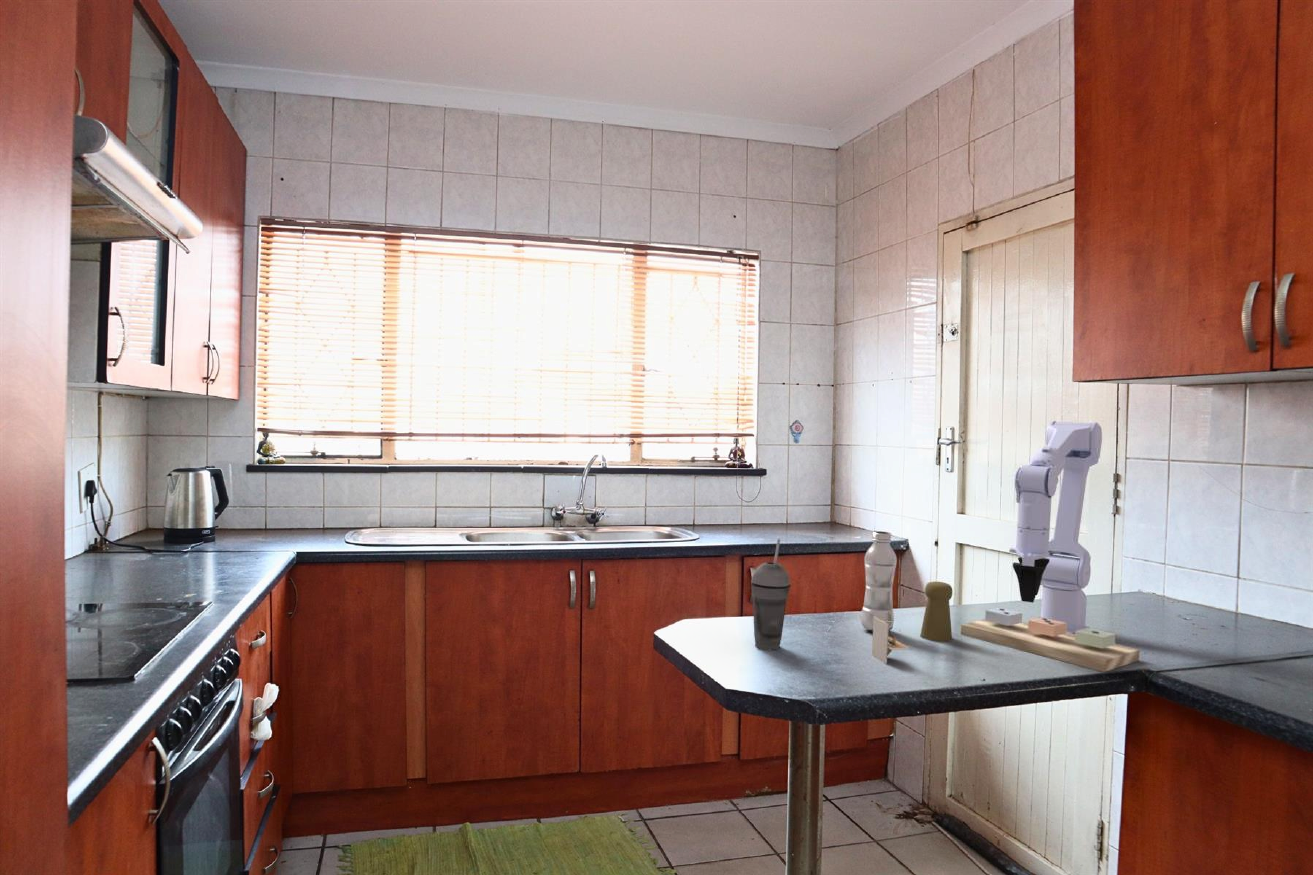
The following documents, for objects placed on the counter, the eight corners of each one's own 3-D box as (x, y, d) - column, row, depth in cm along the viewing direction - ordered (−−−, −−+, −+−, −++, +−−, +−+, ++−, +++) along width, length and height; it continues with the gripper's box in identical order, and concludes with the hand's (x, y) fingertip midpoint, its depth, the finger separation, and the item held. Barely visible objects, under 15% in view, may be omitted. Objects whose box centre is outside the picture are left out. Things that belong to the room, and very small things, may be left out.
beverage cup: (755, 638, 158) (760, 533, 157) (792, 645, 154) (797, 538, 154) (741, 647, 151) (747, 538, 150) (780, 654, 148) (785, 542, 147)
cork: (954, 642, 161) (957, 586, 161) (921, 639, 162) (924, 584, 162) (949, 635, 167) (952, 580, 167) (918, 632, 168) (921, 578, 168)
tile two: (998, 617, 172) (999, 606, 172) (1021, 622, 168) (1022, 612, 168) (985, 619, 169) (985, 609, 169) (1008, 625, 165) (1009, 614, 165)
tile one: (1087, 638, 158) (1087, 626, 158) (1114, 644, 154) (1115, 633, 154) (1074, 641, 155) (1075, 630, 154) (1102, 648, 151) (1103, 636, 150)
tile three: (1040, 627, 165) (1041, 616, 165) (1066, 633, 161) (1066, 622, 161) (1027, 630, 162) (1028, 619, 162) (1053, 636, 158) (1053, 625, 158)
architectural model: (888, 656, 151) (890, 616, 151) (907, 668, 144) (909, 626, 144) (871, 657, 151) (873, 616, 150) (888, 668, 144) (890, 626, 144)
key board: (998, 625, 177) (998, 616, 177) (1138, 660, 154) (1139, 649, 154) (960, 634, 168) (961, 624, 168) (1104, 671, 146) (1104, 660, 146)
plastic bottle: (857, 632, 166) (863, 532, 165) (862, 625, 172) (867, 529, 171) (891, 637, 163) (896, 536, 162) (895, 629, 169) (900, 532, 169)
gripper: (1015, 522, 168) (1011, 588, 169) (1006, 529, 156) (1002, 601, 156) (1053, 525, 165) (1049, 593, 165) (1047, 533, 152) (1043, 607, 153)
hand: (1029, 597), depth 160 cm, fingers open, 7 cm apart
